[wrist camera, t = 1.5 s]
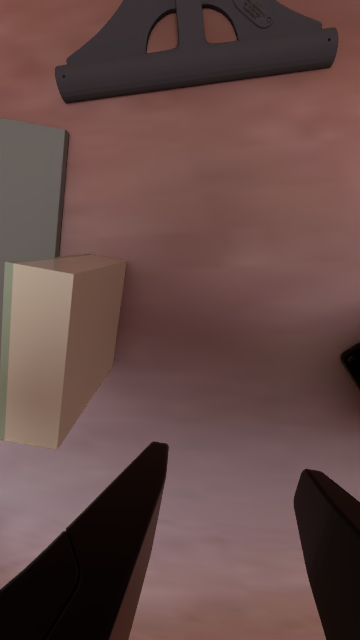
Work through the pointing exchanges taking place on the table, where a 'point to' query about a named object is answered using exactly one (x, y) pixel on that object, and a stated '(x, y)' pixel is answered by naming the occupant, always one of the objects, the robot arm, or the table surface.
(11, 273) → the tile
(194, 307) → the table surface
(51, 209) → the mat
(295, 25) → the bracket
